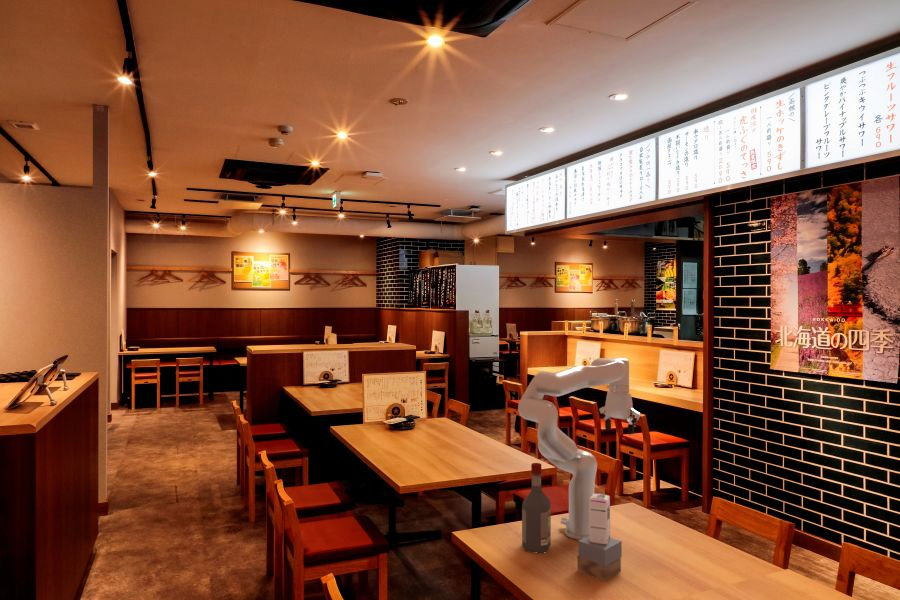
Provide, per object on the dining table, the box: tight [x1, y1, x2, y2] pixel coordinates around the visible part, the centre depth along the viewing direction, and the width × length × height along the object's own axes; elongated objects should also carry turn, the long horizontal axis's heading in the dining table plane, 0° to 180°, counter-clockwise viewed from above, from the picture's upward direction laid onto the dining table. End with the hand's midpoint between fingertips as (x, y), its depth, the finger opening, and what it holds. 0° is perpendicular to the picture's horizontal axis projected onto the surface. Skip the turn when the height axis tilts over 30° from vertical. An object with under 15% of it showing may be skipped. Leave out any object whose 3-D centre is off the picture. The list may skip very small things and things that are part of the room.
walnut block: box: [576, 555, 622, 582], centre depth 190 cm, size 10×10×5 cm
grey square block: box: [577, 535, 623, 566], centre depth 190 cm, size 10×10×5 cm
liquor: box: [521, 462, 552, 554], centre depth 208 cm, size 9×9×30 cm
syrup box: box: [589, 492, 611, 545], centre depth 191 cm, size 6×6×14 cm
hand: (619, 432), depth 231 cm, fingers open, 9 cm apart
